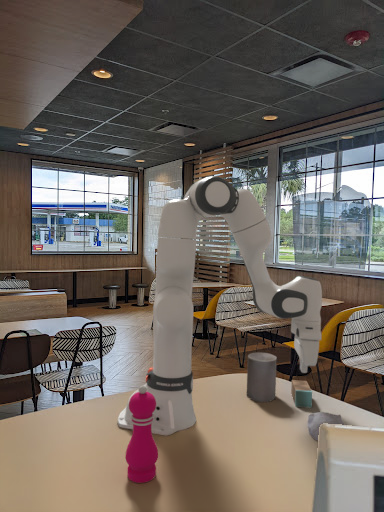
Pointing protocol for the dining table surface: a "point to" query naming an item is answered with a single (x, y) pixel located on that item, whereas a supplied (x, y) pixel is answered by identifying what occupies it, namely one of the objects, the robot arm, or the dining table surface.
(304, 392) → the walnut block
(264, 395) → the pillar candle
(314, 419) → the stone block
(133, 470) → the pepper mill
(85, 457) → the dining table surface
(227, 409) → the dining table surface
